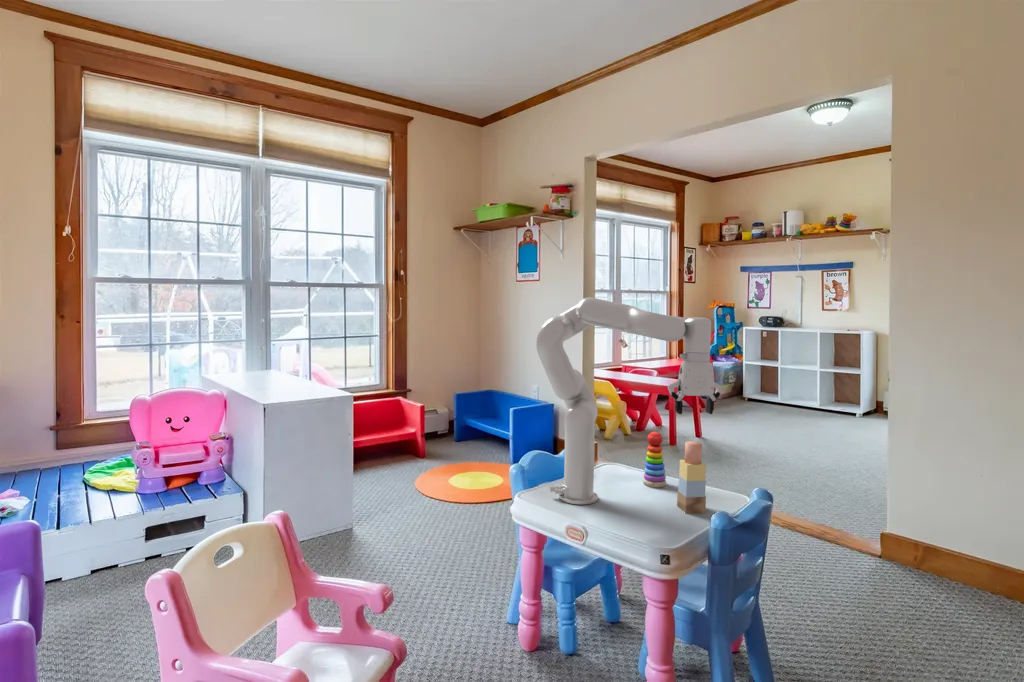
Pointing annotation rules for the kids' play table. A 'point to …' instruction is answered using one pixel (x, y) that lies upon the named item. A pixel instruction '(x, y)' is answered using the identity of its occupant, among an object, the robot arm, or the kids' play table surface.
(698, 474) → the tower top
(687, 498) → the tower base
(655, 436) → the stacking toy
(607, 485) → the kids' play table surface
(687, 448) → the cylinder
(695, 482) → the tower mid
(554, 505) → the kids' play table surface
